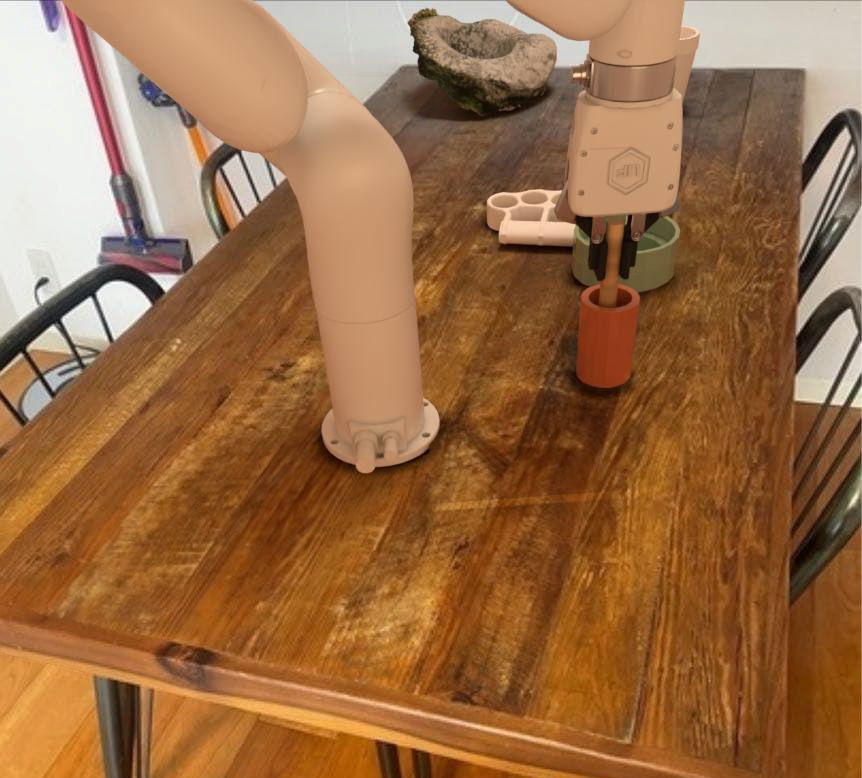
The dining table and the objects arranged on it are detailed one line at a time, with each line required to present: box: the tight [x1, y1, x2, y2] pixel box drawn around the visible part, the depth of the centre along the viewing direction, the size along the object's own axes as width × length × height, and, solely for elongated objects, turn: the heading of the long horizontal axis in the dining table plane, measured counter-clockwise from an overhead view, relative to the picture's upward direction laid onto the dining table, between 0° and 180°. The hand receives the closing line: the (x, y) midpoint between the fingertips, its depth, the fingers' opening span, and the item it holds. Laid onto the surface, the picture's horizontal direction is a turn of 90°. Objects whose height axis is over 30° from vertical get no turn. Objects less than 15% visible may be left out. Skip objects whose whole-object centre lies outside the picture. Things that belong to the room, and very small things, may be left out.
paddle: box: [598, 217, 625, 308], centre depth 89 cm, size 2×3×17 cm
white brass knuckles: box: [486, 188, 576, 248], centre depth 123 cm, size 3×18×15 cm
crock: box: [575, 284, 641, 389], centre depth 93 cm, size 6×6×10 cm
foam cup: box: [673, 25, 701, 104], centre depth 151 cm, size 10×9×13 cm
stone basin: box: [407, 6, 558, 117], centre depth 164 cm, size 29×30×15 cm
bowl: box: [571, 215, 681, 293], centre depth 111 cm, size 13×13×6 cm
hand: (610, 273), depth 87 cm, fingers closed on paddle, 1 cm apart
